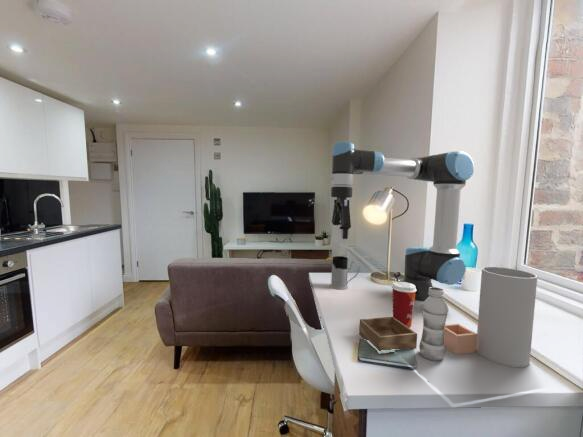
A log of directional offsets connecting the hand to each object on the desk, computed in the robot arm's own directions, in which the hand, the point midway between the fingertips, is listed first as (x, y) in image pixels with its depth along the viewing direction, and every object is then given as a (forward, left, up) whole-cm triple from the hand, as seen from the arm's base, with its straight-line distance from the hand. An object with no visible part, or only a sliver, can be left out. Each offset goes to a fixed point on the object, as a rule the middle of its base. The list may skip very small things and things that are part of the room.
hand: (339, 244), depth 104 cm
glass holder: (-19, -34, -28) cm, 48 cm away
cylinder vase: (-37, +33, -28) cm, 57 cm away
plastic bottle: (-16, +30, -28) cm, 44 cm away
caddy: (-9, +19, -28) cm, 35 cm away
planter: (-28, +27, -28) cm, 48 cm away
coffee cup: (-21, +10, -28) cm, 36 cm away
